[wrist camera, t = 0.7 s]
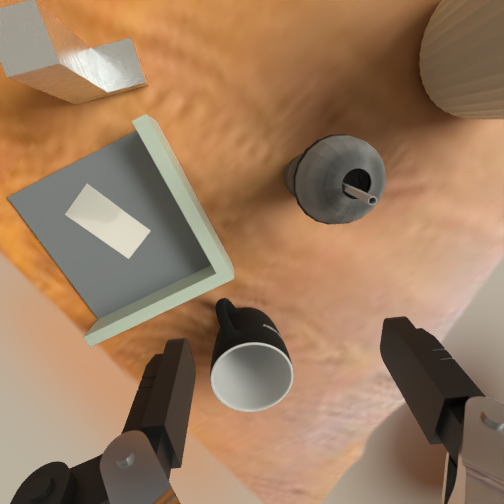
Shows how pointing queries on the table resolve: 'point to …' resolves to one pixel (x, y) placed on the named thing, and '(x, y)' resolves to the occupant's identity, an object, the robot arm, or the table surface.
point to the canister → (465, 58)
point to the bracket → (64, 57)
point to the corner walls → (202, 229)
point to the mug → (249, 360)
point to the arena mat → (112, 226)
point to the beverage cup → (337, 179)
